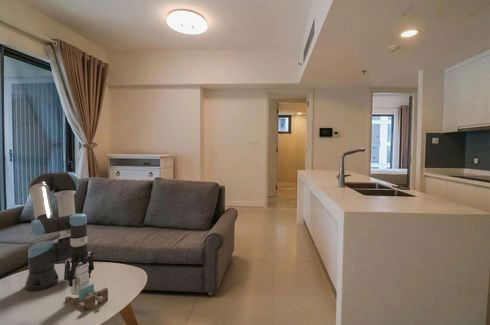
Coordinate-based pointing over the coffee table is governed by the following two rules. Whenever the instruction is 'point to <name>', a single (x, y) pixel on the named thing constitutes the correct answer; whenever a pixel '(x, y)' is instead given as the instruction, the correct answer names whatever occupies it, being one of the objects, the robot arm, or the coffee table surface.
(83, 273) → the syrup box
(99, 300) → the pusher
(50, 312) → the coffee table surface
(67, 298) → the lane
